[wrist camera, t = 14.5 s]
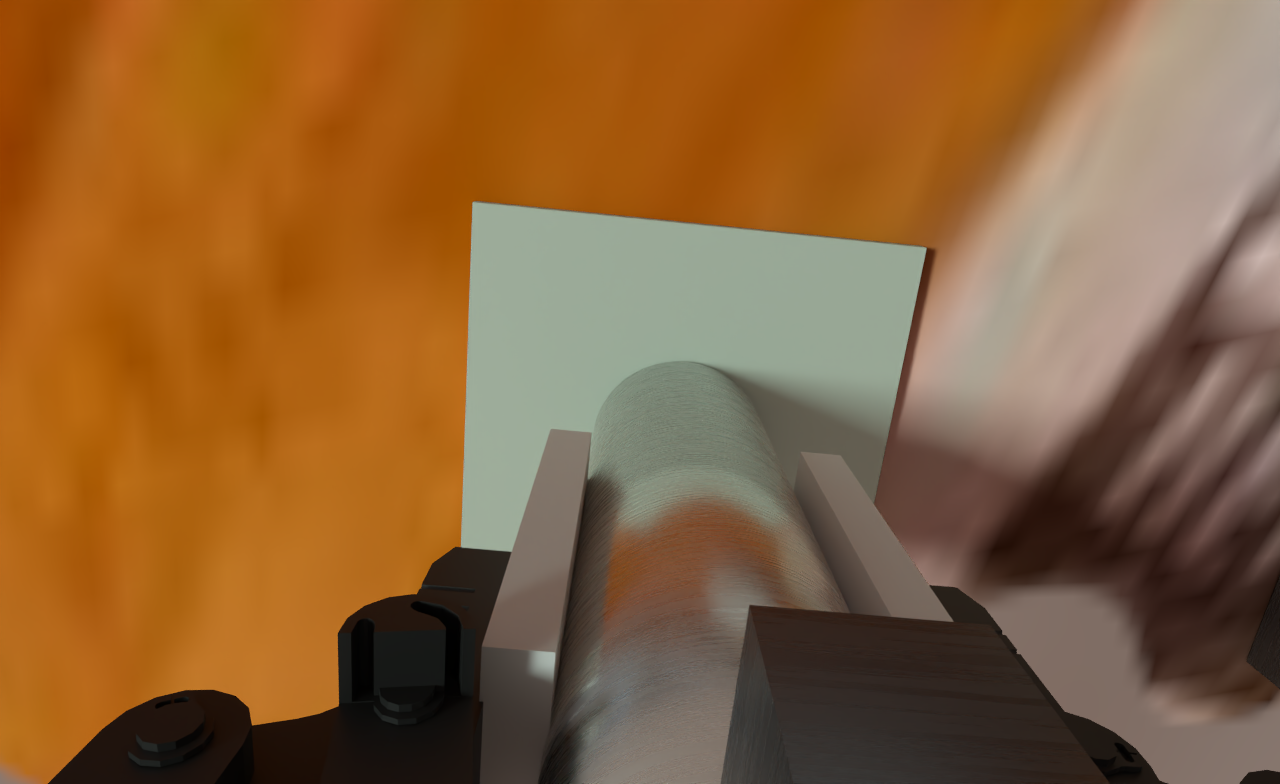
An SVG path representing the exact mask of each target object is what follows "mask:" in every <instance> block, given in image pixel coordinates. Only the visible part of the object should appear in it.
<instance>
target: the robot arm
mask: <svg viewBox="0 0 1280 784" xmlns="http://www.w3.org/2000/svg"><path fill="white" fill-rule="evenodd" d="M591 435H592V433H591V432H580V431H569V430H559V429H551V430H550V433H549V436H548V439H547V442H546V446H545V449H544V452H543V455H542V458H541V461H540V464H539V468H538V471H537V474H536V477H535V480H534V483H533V486H532V490H531V493H530V496H529V499H528V502H527V505H526V509H525V512H524V515H523V518H522V521H521V524H520V527H519V531H518V534H517V537H516V540H515V543H514V546H513V550H512V552H509V551H497V550H485V549H474V548H462V547H455V548H453V549H452V550H450V551H449V552H448V553H446V554H445V555H444V556H442V557H441V558H439V559H438V560H437V561H435V562H434V563H432V565H431V567H430V569H429V571H428V573H427V575H426V577H425V579H424V581H423V583H422V587H421V589H419V591H418V593H417V595H416V594H412V595H404V596H396V597H388V598H385V599H383V600H380V601H377V602H374V603H371V604H369V605H366V606H364V607H363V608H361V609H360V610H358V611H357V612H355V613H354V614H353V615H351V616H350V617H348V618H347V619H346V621H345V623H344V624H343V626H342V627H341V629H340V631H339V632H338V667H339V706H338V707H336V708H333V709H331V710H328V711H325V712H323V713H320V714H316V715H312V716H308V717H303V718H299V719H293V720H286V721H280V722H273V723H266V724H260V725H253V726H252V724H251V718H250V712H249V708H248V707H247V706H246V705H245V704H244V703H243V702H242V701H240V700H239V699H238V698H237V697H236V696H234V695H230V694H227V693H223V692H219V691H216V690H185V691H181V692H177V693H173V694H169V695H164V696H160V697H156V698H154V699H151V700H149V701H147V702H145V703H143V704H141V705H138V706H136V707H134V708H132V709H130V710H127V711H126V712H124V713H123V714H122V715H120V716H119V717H118V718H116V719H115V720H114V721H113V722H111V723H110V724H109V725H107V726H106V727H105V728H103V729H102V730H101V731H100V732H99V733H98V734H97V735H96V736H95V737H94V738H93V739H92V740H91V741H90V742H89V743H88V744H87V745H86V746H85V747H84V748H83V749H82V750H81V751H80V752H79V753H78V754H77V755H76V756H75V757H74V758H73V759H72V760H71V761H70V762H69V763H68V764H67V765H66V766H65V767H64V768H63V769H62V770H61V771H60V772H59V773H58V774H57V775H56V776H55V777H54V778H53V779H52V780H51V781H50V782H49V783H48V784H538V779H539V773H540V767H541V760H542V754H543V748H544V745H545V742H546V739H547V736H548V733H549V730H550V723H551V717H552V710H553V704H554V697H555V691H556V684H557V678H558V671H559V664H560V658H561V651H562V645H563V638H564V632H565V625H566V619H567V612H568V605H569V599H570V592H571V586H572V579H573V573H574V566H575V560H576V553H577V546H578V540H579V533H580V527H581V520H582V514H583V507H584V501H585V494H586V487H587V481H588V470H589V458H590V446H591ZM794 493H795V495H796V497H797V499H798V501H799V504H800V506H801V508H802V510H803V512H804V514H805V516H806V519H807V521H808V523H809V525H810V527H811V529H812V531H813V534H814V536H815V538H816V540H817V542H818V544H819V546H820V549H821V551H822V553H823V555H824V557H825V559H826V561H827V564H828V566H829V568H830V570H831V572H832V574H833V576H834V579H835V581H836V583H837V585H838V587H839V589H840V591H841V594H842V596H843V598H844V600H845V602H846V604H847V606H848V609H849V611H850V613H853V614H865V615H877V616H889V617H901V618H913V619H924V620H936V621H948V622H960V623H972V624H984V625H991V626H992V628H993V629H994V630H995V632H996V633H997V634H998V636H999V637H1000V638H1001V640H1002V641H1003V642H1004V644H1005V645H1006V646H1007V648H1008V649H1009V650H1010V652H1011V653H1012V654H1013V656H1014V657H1015V658H1016V660H1017V661H1018V662H1019V664H1020V665H1021V666H1022V668H1023V669H1024V670H1025V672H1026V673H1027V674H1028V676H1029V677H1030V678H1031V680H1032V681H1033V682H1034V684H1035V685H1036V686H1037V688H1038V689H1039V690H1040V692H1041V693H1042V694H1043V696H1044V697H1045V698H1046V699H1047V701H1048V702H1049V703H1050V705H1051V706H1052V707H1053V709H1054V710H1055V711H1056V713H1057V714H1058V715H1059V717H1060V718H1061V719H1062V721H1063V722H1064V723H1065V725H1066V726H1067V727H1068V729H1069V730H1070V731H1071V733H1072V734H1073V735H1074V737H1075V738H1076V739H1077V741H1078V742H1079V743H1080V745H1081V746H1082V747H1083V749H1084V750H1085V751H1086V753H1087V754H1088V755H1089V757H1090V758H1091V759H1092V761H1093V762H1094V763H1095V765H1096V766H1097V767H1098V769H1099V770H1100V771H1101V773H1102V774H1103V775H1104V776H1105V778H1106V779H1107V780H1108V782H1109V783H1110V784H1167V783H1164V782H1162V781H1159V779H1158V778H1157V776H1156V774H1155V773H1154V771H1153V769H1152V768H1151V766H1150V765H1149V764H1148V763H1147V761H1146V760H1145V759H1144V758H1143V757H1142V756H1141V754H1140V753H1139V752H1138V751H1137V750H1136V748H1134V747H1133V746H1131V745H1130V744H1129V743H1128V742H1126V741H1125V740H1123V739H1122V738H1121V737H1120V736H1118V735H1117V734H1116V733H1114V732H1113V731H1111V730H1109V729H1107V728H1105V727H1103V726H1101V725H1099V724H1097V723H1095V722H1093V721H1091V720H1089V719H1086V718H1083V717H1079V716H1076V715H1073V714H1070V713H1067V712H1064V710H1063V709H1062V708H1061V706H1060V705H1059V704H1058V703H1057V701H1056V700H1055V699H1054V697H1053V696H1052V695H1051V693H1050V692H1049V691H1048V690H1047V688H1046V687H1045V686H1044V684H1043V683H1042V682H1041V681H1040V679H1039V678H1038V677H1037V675H1036V674H1035V673H1034V671H1033V670H1032V669H1031V668H1030V666H1029V665H1028V664H1027V662H1026V661H1025V660H1024V659H1023V657H1022V656H1021V655H1020V654H1017V652H1016V651H1017V649H1016V648H1015V647H1014V646H1013V644H1012V643H1011V642H1010V640H1009V639H1008V638H1007V636H1006V635H1002V630H1001V629H1000V627H999V626H998V625H997V624H996V622H995V621H994V620H993V618H992V617H991V616H990V614H989V613H988V612H987V610H986V609H985V608H984V607H983V606H981V605H980V604H978V603H977V602H976V601H974V600H973V599H971V598H970V597H969V596H967V595H966V594H965V593H963V592H962V591H960V590H959V589H958V588H955V587H944V586H932V585H928V583H927V582H926V580H925V579H924V577H923V576H922V574H921V573H920V571H919V570H918V568H917V567H916V566H915V564H914V563H913V561H912V560H911V558H910V557H909V555H908V554H907V552H906V551H905V549H904V548H903V546H902V545H901V544H900V542H899V541H898V539H897V538H896V536H895V535H894V533H893V532H892V530H891V529H890V527H889V526H888V524H887V523H886V521H885V520H884V519H883V517H882V516H881V514H880V513H879V511H878V510H877V508H876V507H875V505H874V504H873V502H872V501H871V499H870V498H869V496H868V495H867V494H866V492H865V491H864V489H863V488H862V486H861V485H860V483H859V482H858V480H857V479H856V477H855V476H854V474H853V473H852V472H851V470H850V469H849V467H848V466H847V464H846V463H845V461H844V460H843V458H842V457H841V455H832V454H821V453H810V452H800V457H799V463H798V469H797V475H796V480H795V486H794ZM1240 784H1280V772H1275V771H1270V770H1264V771H1256V772H1249V773H1248V774H1247V775H1246V776H1245V777H1244V778H1243V780H1242V781H1241V782H1240Z"/></svg>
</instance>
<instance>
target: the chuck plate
mask: <svg viewBox="0 0 1280 784" xmlns="http://www.w3.org/2000/svg"><path fill="white" fill-rule="evenodd" d="M1247 662H1248V663H1249V664H1250V665H1252V666H1253V667H1254V668H1255V669H1256V670H1258V671H1259V672H1260V673H1261V674H1262V675H1264V676H1265V677H1266V678H1267V679H1268V680H1270V681H1271V682H1272V683H1273V684H1275V685H1276V686H1277V687H1278V688H1279V689H1280V576H1279V579H1278V581H1277V584H1276V587H1275V589H1274V592H1273V594H1272V597H1271V599H1270V602H1269V605H1268V607H1267V610H1266V612H1265V615H1264V617H1263V620H1262V623H1261V625H1260V628H1259V630H1258V633H1257V636H1256V638H1255V641H1254V643H1253V646H1252V648H1251V651H1250V654H1249V656H1248V659H1247Z"/></svg>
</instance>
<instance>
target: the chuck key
mask: <svg viewBox="0 0 1280 784" xmlns="http://www.w3.org/2000/svg"><path fill="white" fill-rule="evenodd" d="M538 784H1110V783H1109V782H1108V780H1107V779H1106V778H1105V776H1104V775H1103V774H1102V773H1101V771H1100V770H1099V769H1098V767H1097V766H1096V765H1095V763H1094V762H1093V761H1092V759H1091V758H1090V757H1089V755H1088V754H1087V753H1086V751H1085V750H1084V749H1083V747H1082V746H1081V745H1080V743H1079V742H1078V741H1077V739H1076V738H1075V737H1074V735H1073V734H1072V733H1071V731H1070V730H1069V729H1068V727H1067V726H1066V725H1065V723H1064V722H1063V721H1062V719H1061V718H1060V717H1059V715H1058V714H1057V713H1056V711H1055V710H1054V709H1053V707H1052V706H1051V705H1050V703H1049V702H1048V701H1047V699H1046V698H1045V697H1044V696H1043V694H1042V693H1041V692H1040V690H1039V689H1038V688H1037V686H1036V685H1035V684H1034V682H1033V681H1032V680H1031V678H1030V677H1029V676H1028V674H1027V673H1026V672H1025V670H1024V669H1023V668H1022V666H1021V665H1020V664H1019V662H1018V661H1017V660H1016V658H1015V657H1014V656H1013V654H1012V653H1011V652H1010V650H1009V649H1008V648H1007V646H1006V645H1005V644H1004V642H1003V641H1002V640H1001V638H1000V637H999V636H998V634H997V633H996V632H995V630H994V629H993V628H992V626H991V625H984V624H972V623H960V622H948V621H936V620H924V619H913V618H901V617H889V616H877V615H865V614H853V613H850V611H849V609H848V606H847V604H846V602H845V600H844V598H843V596H842V594H841V591H840V589H839V587H838V585H837V583H836V581H835V579H834V576H833V574H832V572H831V570H830V568H829V566H828V564H827V561H826V559H825V557H824V555H823V553H822V551H821V549H820V546H819V544H818V542H817V540H816V538H815V536H814V534H813V531H812V529H811V527H810V525H809V523H808V521H807V519H806V516H805V514H804V512H803V510H802V508H801V506H800V504H799V501H798V499H797V497H796V495H795V493H794V491H793V489H792V487H791V484H790V482H789V480H788V478H787V476H786V474H785V472H784V469H783V467H782V465H781V463H780V461H779V459H778V457H777V454H776V452H775V450H774V448H773V446H772V444H771V442H770V439H769V437H768V435H767V433H766V431H765V429H764V427H763V424H762V422H761V420H760V418H759V416H758V414H757V412H756V409H755V408H754V406H753V404H752V402H751V400H750V399H749V397H748V396H747V394H746V393H745V392H744V390H743V389H742V388H741V387H740V386H739V385H738V384H737V383H736V382H734V381H733V380H732V379H731V378H729V377H728V376H726V375H725V374H723V373H721V372H720V371H718V370H715V369H713V368H711V367H709V366H705V365H702V364H698V363H692V362H681V361H674V362H664V363H659V364H655V365H652V366H649V367H646V368H643V369H641V370H639V371H637V372H635V373H633V374H632V375H630V376H629V377H627V378H626V379H624V380H623V381H622V382H621V383H620V384H619V385H618V386H616V387H615V388H614V390H613V391H612V392H611V393H610V394H609V395H608V397H607V398H606V400H605V401H604V403H603V405H602V407H601V409H600V411H599V413H598V415H597V419H596V422H595V425H594V432H593V438H592V444H591V451H590V458H589V470H588V481H587V487H586V494H585V501H584V507H583V514H582V520H581V527H580V533H579V540H578V546H577V553H576V560H575V566H574V573H573V579H572V586H571V592H570V599H569V605H568V612H567V619H566V625H565V632H564V638H563V645H562V651H561V658H560V664H559V671H558V678H557V684H556V691H555V697H554V704H553V710H552V717H551V723H550V730H549V733H548V736H547V739H546V742H545V745H544V748H543V754H542V760H541V767H540V773H539V779H538Z"/></svg>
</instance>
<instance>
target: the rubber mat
mask: <svg viewBox="0 0 1280 784" xmlns="http://www.w3.org/2000/svg"><path fill="white" fill-rule="evenodd" d="M926 249H927V248H926V247H923V246H917V245H908V244H898V243H888V242H878V241H868V240H858V239H848V238H838V237H828V236H818V235H808V234H798V233H788V232H779V231H769V230H759V229H749V228H739V227H729V226H719V225H709V224H699V223H689V222H679V221H669V220H659V219H649V218H640V217H630V216H620V215H610V214H600V213H590V212H580V211H570V210H560V209H550V208H540V207H530V206H520V205H510V204H501V203H491V202H481V201H475V202H473V207H472V237H471V267H470V297H469V326H468V356H467V386H466V416H465V445H464V475H463V505H462V535H461V547H462V548H474V549H485V550H497V551H509V552H512V550H513V546H514V543H515V540H516V537H517V534H518V531H519V527H520V524H521V521H522V518H523V515H524V512H525V509H526V505H527V502H528V499H529V496H530V493H531V490H532V486H533V483H534V480H535V477H536V474H537V471H538V468H539V464H540V461H541V458H542V455H543V452H544V449H545V446H546V442H547V439H548V436H549V433H550V430H551V429H559V430H569V431H580V432H591V433H592V435H591V444H592V438H593V432H594V425H595V422H596V419H597V415H598V413H599V411H600V409H601V407H602V405H603V403H604V401H605V400H606V398H607V397H608V395H609V394H610V393H611V392H612V391H613V390H614V388H615V387H616V386H618V385H619V384H620V383H621V382H622V381H623V380H624V379H626V378H627V377H629V376H630V375H632V374H633V373H635V372H637V371H639V370H641V369H643V368H646V367H649V366H652V365H655V364H659V363H664V362H674V361H681V362H692V363H698V364H702V365H705V366H709V367H711V368H713V369H715V370H718V371H720V372H721V373H723V374H725V375H726V376H728V377H729V378H731V379H732V380H733V381H734V382H736V383H737V384H738V385H739V386H740V387H741V388H742V389H743V390H744V392H745V393H746V394H747V396H748V397H749V399H750V400H751V402H752V404H753V406H754V408H755V409H756V412H757V414H758V416H759V418H760V420H761V422H762V424H763V427H764V429H765V431H766V433H767V435H768V437H769V439H770V442H771V444H772V446H773V448H774V450H775V452H776V454H777V457H778V459H779V461H780V463H781V465H782V467H783V469H784V472H785V474H786V476H787V478H788V480H789V482H790V484H791V487H792V489H793V491H794V486H795V480H796V475H797V469H798V463H799V457H800V452H810V453H821V454H832V455H841V457H842V458H843V460H844V461H845V463H846V464H847V466H848V467H849V469H850V470H851V472H852V473H853V474H854V476H855V477H856V479H857V480H858V482H859V483H860V485H861V486H862V488H863V489H864V491H865V492H866V494H867V495H868V496H869V498H870V499H871V501H872V502H873V504H874V501H875V496H876V492H877V487H878V482H879V477H880V472H881V467H882V462H883V458H884V453H885V448H886V443H887V438H888V433H889V429H890V424H891V419H892V414H893V409H894V404H895V399H896V395H897V390H898V385H899V380H900V375H901V370H902V366H903V361H904V356H905V351H906V346H907V341H908V337H909V332H910V327H911V322H912V317H913V312H914V307H915V303H916V298H917V293H918V288H919V283H920V278H921V274H922V269H923V264H924V259H925V254H926ZM590 451H591V446H590Z"/></svg>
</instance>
